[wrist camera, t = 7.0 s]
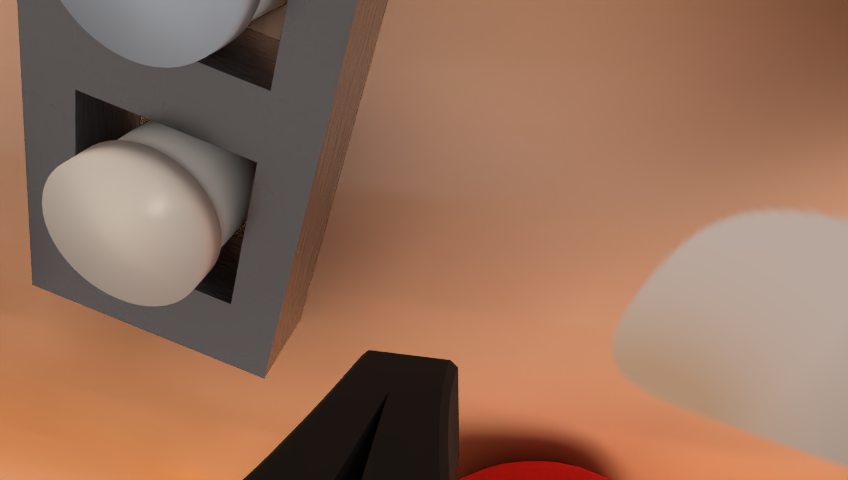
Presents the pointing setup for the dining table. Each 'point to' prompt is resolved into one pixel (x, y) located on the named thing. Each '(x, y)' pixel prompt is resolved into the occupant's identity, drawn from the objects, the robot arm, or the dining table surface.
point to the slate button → (166, 26)
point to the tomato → (534, 472)
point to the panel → (218, 125)
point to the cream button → (147, 212)
